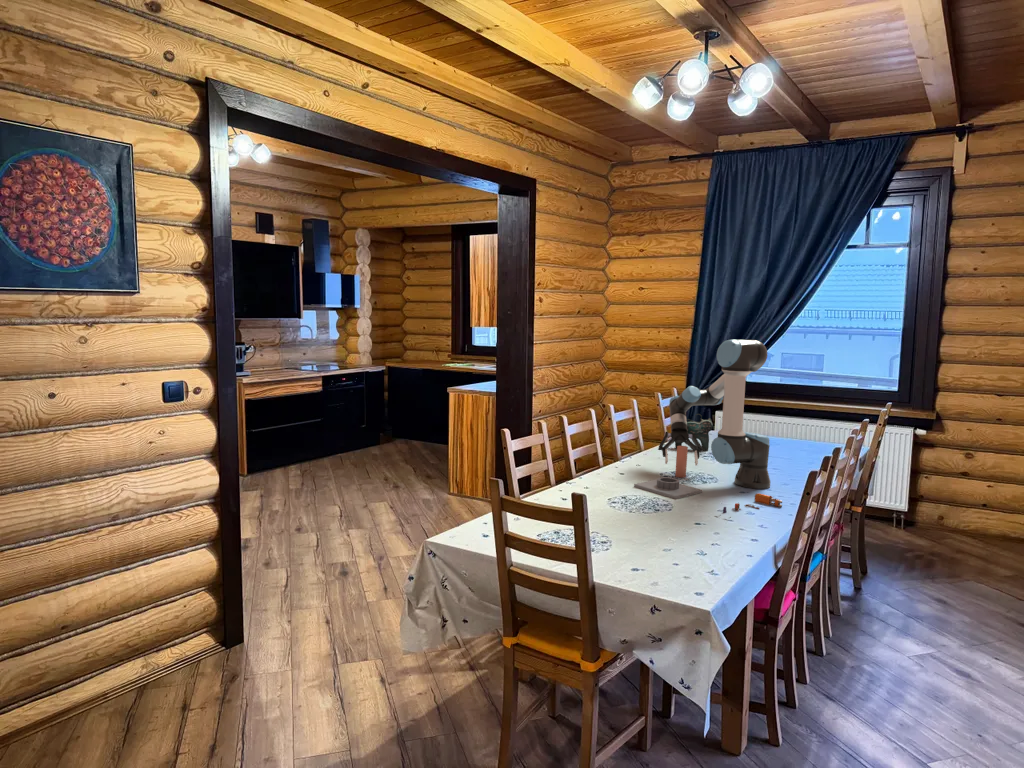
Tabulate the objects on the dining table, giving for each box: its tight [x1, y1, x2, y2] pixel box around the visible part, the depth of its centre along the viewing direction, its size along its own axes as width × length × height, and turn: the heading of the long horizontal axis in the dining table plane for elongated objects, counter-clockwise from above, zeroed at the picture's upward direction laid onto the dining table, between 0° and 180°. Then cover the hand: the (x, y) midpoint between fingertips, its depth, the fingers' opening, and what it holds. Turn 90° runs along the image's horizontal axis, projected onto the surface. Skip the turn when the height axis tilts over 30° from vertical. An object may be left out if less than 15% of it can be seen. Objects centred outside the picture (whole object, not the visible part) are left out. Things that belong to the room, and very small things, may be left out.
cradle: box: [633, 476, 703, 500], centre depth 288 cm, size 22×18×4 cm
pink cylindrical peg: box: [674, 445, 689, 479], centre depth 312 cm, size 5×5×14 cm
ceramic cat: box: [674, 413, 713, 452], centre depth 372 cm, size 20×6×20 cm, turn 80°
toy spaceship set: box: [714, 492, 783, 521], centre depth 261 cm, size 11×35×4 cm, turn 133°
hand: (681, 463), depth 310 cm, fingers open, 13 cm apart
